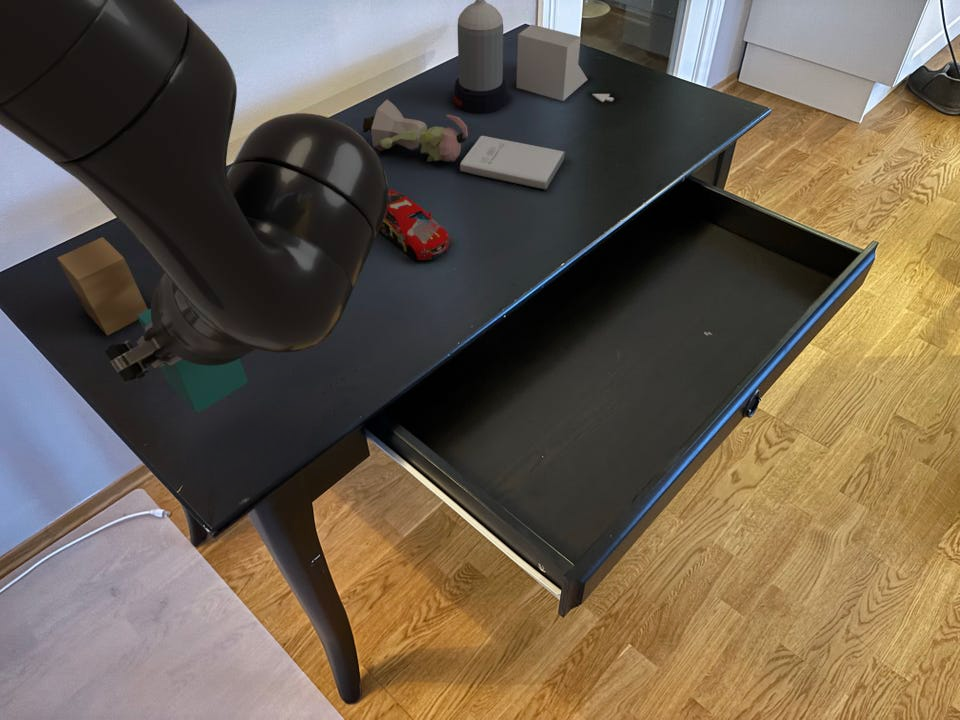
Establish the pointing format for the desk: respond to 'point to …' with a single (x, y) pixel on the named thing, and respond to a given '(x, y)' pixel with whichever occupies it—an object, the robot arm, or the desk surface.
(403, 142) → the figurine
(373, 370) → the desk surface
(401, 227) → the race car
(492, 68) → the humidifier
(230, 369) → the teal block
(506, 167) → the hard drive
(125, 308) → the block left
